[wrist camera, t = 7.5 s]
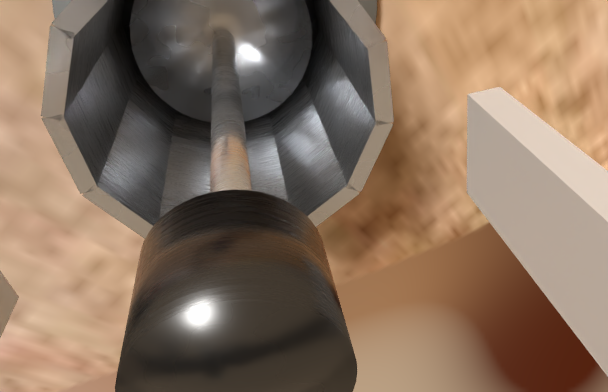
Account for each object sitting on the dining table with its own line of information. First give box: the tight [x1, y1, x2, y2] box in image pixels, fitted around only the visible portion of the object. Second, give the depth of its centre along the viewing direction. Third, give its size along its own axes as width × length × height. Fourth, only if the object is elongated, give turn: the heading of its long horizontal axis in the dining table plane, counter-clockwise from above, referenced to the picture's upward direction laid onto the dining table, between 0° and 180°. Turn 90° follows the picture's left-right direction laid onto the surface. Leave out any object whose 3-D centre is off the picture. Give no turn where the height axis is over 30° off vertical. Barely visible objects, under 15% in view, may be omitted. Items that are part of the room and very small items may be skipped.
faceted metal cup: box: [41, 0, 394, 238], centre depth 21 cm, size 11×13×12 cm
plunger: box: [115, 0, 357, 392], centre depth 15 cm, size 8×8×19 cm
